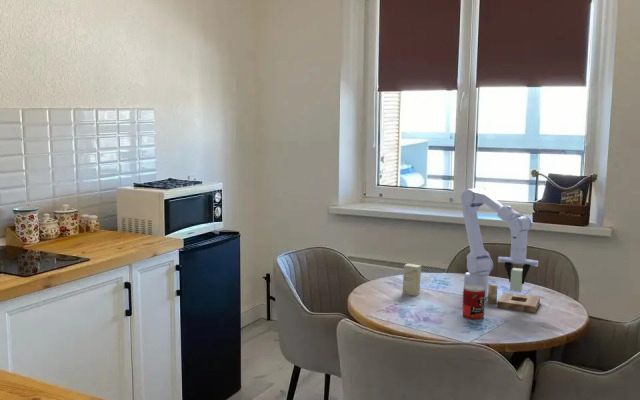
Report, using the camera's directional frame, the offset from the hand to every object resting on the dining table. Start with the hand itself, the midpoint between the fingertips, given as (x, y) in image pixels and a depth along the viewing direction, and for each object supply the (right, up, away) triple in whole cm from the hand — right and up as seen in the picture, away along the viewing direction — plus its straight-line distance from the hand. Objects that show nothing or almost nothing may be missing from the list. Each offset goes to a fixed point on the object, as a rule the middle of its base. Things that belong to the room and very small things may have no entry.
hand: (516, 282), depth 234 cm
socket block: (+2, -9, +4) cm, 10 cm away
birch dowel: (-7, -9, +8) cm, 14 cm away
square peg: (0, -3, 0) cm, 3 cm away
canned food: (-19, -11, -10) cm, 24 cm away
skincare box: (-38, -7, +18) cm, 42 cm away
